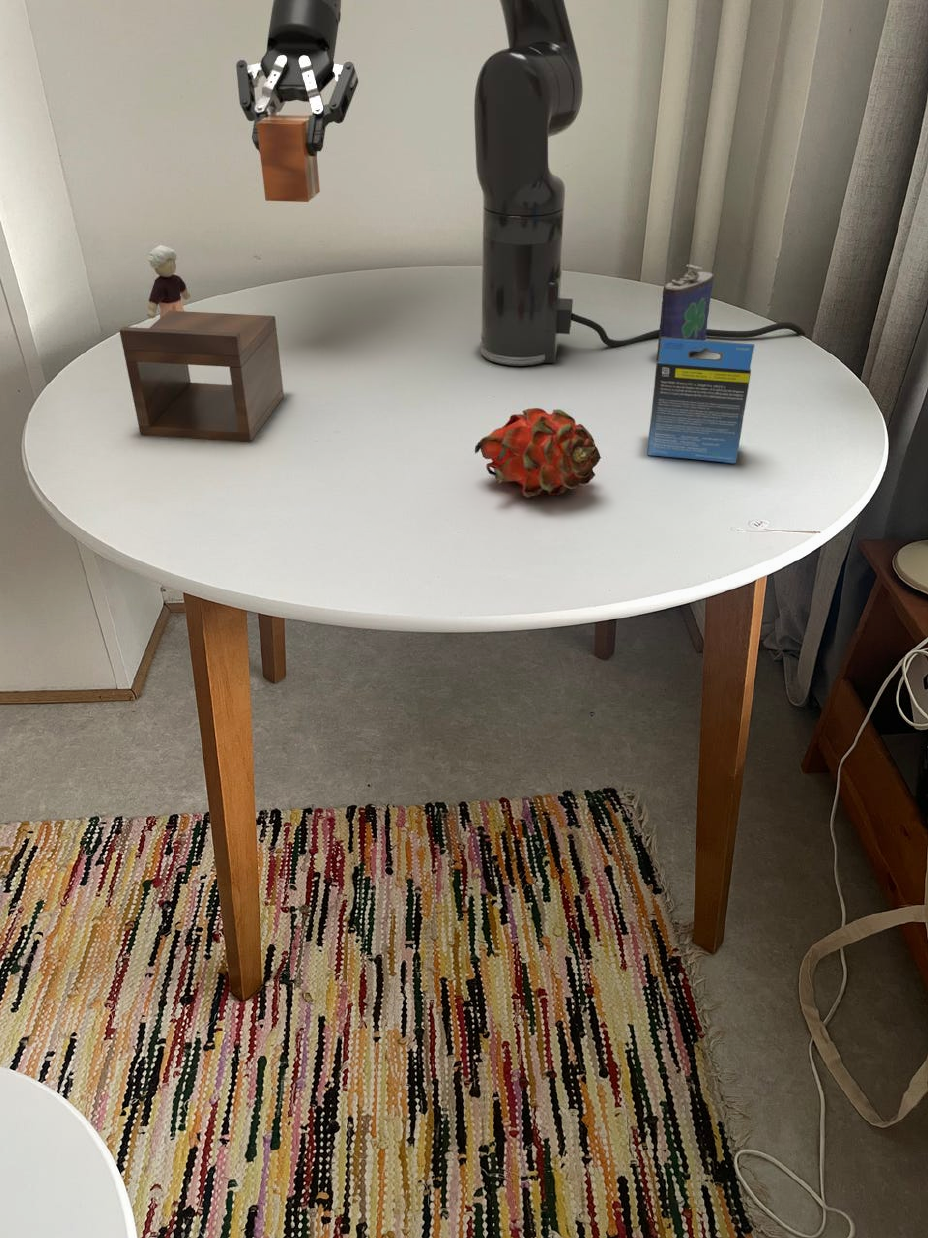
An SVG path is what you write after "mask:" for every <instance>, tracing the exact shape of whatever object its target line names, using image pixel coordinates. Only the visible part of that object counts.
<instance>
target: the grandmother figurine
mask: <svg viewBox="0 0 928 1238" xmlns="http://www.w3.org/2000/svg"><path fill="white" fill-rule="evenodd" d="M176 260H178V259H177V253H176V251H175V250H174V248H170V246H165V245H162V244H160V245H158V246H156V247H155V248H153V249H152V250H151V251H149V253H148V262H149V265H150V268H153V270H154V272H155V273H156V274H157V275H158V276H157V277H156V278H155V279H154V281H153V285H152V287H151V291H150V295H149V297H148V306H147V309H148V310H147V312H146V315H147V317H148V319H155V318H156V317H157V310H158V307H159V308H160V309H159V310H160V311H159V319H160V318H161V317H162V316H163V315H165V314H166V313H167V312H168V311H185V309H184V305H183V302H182V299H183V300H184V301H187V300H189V299H190V298H191V293H190V292H189V291H188V288H187V284H186V283H185V281H184V280H183V278H182V277H180V275H176V274H175V272H176V270H177V263H176Z"/></svg>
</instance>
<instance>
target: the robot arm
mask: <svg viewBox="0 0 928 1238" xmlns="http://www.w3.org/2000/svg"><path fill="white" fill-rule="evenodd" d="M499 3H500V6H501V11H502V15H503V21H504V26H505V30H506V36H507V43H508V48H503V49H501V50H498V51H496V52H494V53H493V54H492V55H490V56H489V57H488V58H487V59H486V60H485V61H484V63H483V65H482V67H481V68H480V71H479V74H478V76H477V80H476V84H475V88H474V89H475V90H474V98H473V99H474V102H473V105H474V106H473V111H474V112H473V121H474V123H473V124H474V147H475V148H474V149H475V150H474V151H475V168H476V176H477V180H478V183H479V187H480V188H481V191H482V261H481V262H482V268H481V269H482V270H481V271H482V272H481V273H482V274H481V275H482V277H481V335H480V338H481V339H480V340H481V341H480V354H481V355H482V357H484V358H485V359H486V360H488V361H491V362H494V363H496V364H501V365H507V366H517V367H518V366H519V367H520V366H521V367H522V366H523V367H525V366H535V365H539V364H545V363H549V364H553V363H555V360H556V356H557V353H558V339H559V334H560V335H561V334H562V335H570V333H571V327H572V322H575V323H578V324H581V325H583V326H585V327H588V328H591V329H592V330H594V332H596V333H597V334H598V335H599V338H600V340H601V341H602V342H603V344H605V345H606V346H608V347H611V348H618V347H625V346H629V345H634V344H637V343H641V342H645V341H649V340H652V339H654V338H657V337H658V338H659V329H655V330H652V331H649V332H646V333H644V334H641V335H638V336H635V337H633V338H629V339H623V340H618V339H612V338H610V337H609V336H608V334H607V332H606V330H605V328H604V327H603V326H602V325H600V324H599V323H597V322H596V321H594V320H591V319H589V318H586V317H583V316H581V315H578V314H576V313H573V306H574V305H573V304H574V299H573V298H563V297H561V289H562V288H561V287H562V286H561V285H562V270H561V269H562V267H561V265H562V249H563V232H564V231H563V229H564V214H565V213H564V212H565V197H566V187H565V183H564V181H563V180H562V179H561V178H560V177H559V176H557V175H555V174H553V173H552V172H551V170H550V167H549V165H550V164H549V138H550V137H553V136H556V135H559V134H561V133H563V132H565V131H566V130H567V129H569V128H570V127H571V126H572V125H573V123H574V122H575V120H576V119H577V117H578V114H579V112H580V109H581V106H582V102H583V95H584V94H583V93H584V91H583V90H584V88H583V86H584V85H583V76H582V69H581V66H580V60H579V56H578V55H579V54H578V51H577V48H576V44H575V39H574V36H573V31H572V27H571V23H570V20H569V15H568V11H567V7H566V3H565V0H499ZM341 8H342V0H273V1H272V8H271V15H270V22H269V27H268V34H267V40H266V42H267V43H266V51H265V54H264V55H263V56H262V58H261V60H260V62H258V63H252V64H248V63H247V61H246V60H244V59H239V60H238V61H237V62H236V64H235V65H236V66H235V67H236V77H237V89H238V99H239V106H240V107H241V109H242V111H243V114H244V116H245V118H246V120H247V121H249V122H253V126H252V134H251V140H252V143H253V144H254V147H255V149H256V150H257V151H258V153H259V154H260V149H259V140H258V131H257V122H259V121H261V120H262V119H263V118H266V117H268V116H270V115H277V113H281V111H282V110H283V108H284V106H285V104H286V102H294V101H300V102H304V103H310V107H311V111H312V114H309V115H308V116H309V126H308V133H307V137H306V149H307V151H308V154H309V155H310V156H317V157H318V152H322V149H323V148H324V141H325V133H326V128H327V126H329V124H330V123H335V124H342V123H344V121H345V118H346V116H347V113H348V111H349V108H350V105H351V102H352V100H353V97H354V95H355V92H356V89H357V87H358V84H359V78H358V75H357V71H356V69H355V65H354V63H353V62H352V61H346V62H345V63H343V64H342V65H341V64H338V63H335V61H334V60H335V53H336V46H337V45H336V44H337V38H338V31H339V25H340V22H341V15H342V13H341ZM263 76H264V77H265V82H264V83H263V85H262V87H261V94H260V96H259V98H258V99H257V101H256V93H255V89H256V88H258V87H259V83H260V79H261V77H263ZM333 79H335V82H336V84H335V85H334V89H333V91H332V94H331V97H330V98H329V102H328V103H327V104H324V100H323V97H322V93H321V92H322V91H323V90H325V88H326V87H327V86H328V85H329V84H330V83H331V82H332V80H333ZM779 330H790V331H793V332H794V333H795V334H797V335H798V336H806V335H807V334H806V332H805V330H804V329H803V328H802V327H801V326H799V325H798V324H797V323H794V322H789V321H788V322H787V321H782V322H775V323H773V324H770V325H767V326H763V327H760V328H756V329H752V330H751V329H750V330H726V329H725V330H724V329H711V328H707V329H706V336H705V337H715V338H730V339H747V338H756V337H758V336H762V335H766V334H769V333H772V332H775V331H779Z"/></svg>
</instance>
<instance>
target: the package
mask: <svg viewBox="0 0 928 1238" xmlns="http://www.w3.org/2000/svg"><path fill="white" fill-rule="evenodd" d="M309 116H310V115H295V114H293V115H291V114H289V115H288V114H286V115H285V114H276V115H270V116H268V117H266V118H263V119H262V120H261V121H259V122H257V131H258V140H259V149H260V153H259V156H260V166H261V175H262V181H263V182H262V183H263V193H264V200H265V201H266V202H291V203H292V202H293V203H295V202H297V203H309V202H310V201H311V200H313V199H314V198H315V197H316V196H317V195H318V194H319V193H320V192H321V189H320V179H319V165H318V155H317V156H310V155H309V154H308V151H307V149H306V137H307V133H308V126H309Z"/></svg>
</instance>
